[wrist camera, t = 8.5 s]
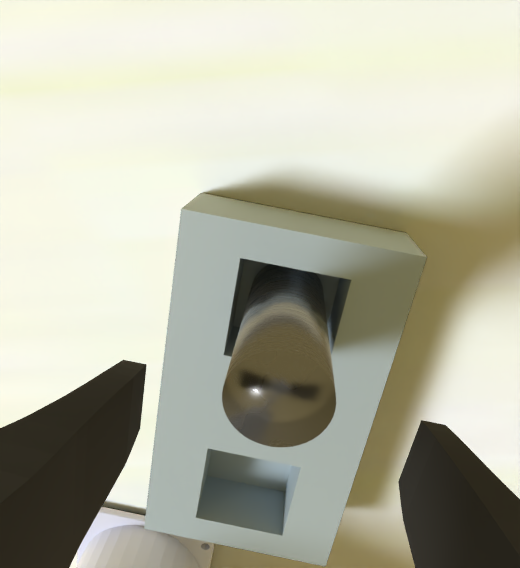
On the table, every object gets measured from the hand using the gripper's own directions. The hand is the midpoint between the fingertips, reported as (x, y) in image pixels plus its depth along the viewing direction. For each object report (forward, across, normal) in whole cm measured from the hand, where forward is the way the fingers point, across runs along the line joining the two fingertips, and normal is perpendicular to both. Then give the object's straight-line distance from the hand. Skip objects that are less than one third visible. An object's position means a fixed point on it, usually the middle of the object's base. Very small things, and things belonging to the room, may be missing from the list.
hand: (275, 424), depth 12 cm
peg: (+9, 0, 0) cm, 9 cm away
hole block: (+10, 0, +4) cm, 11 cm away
